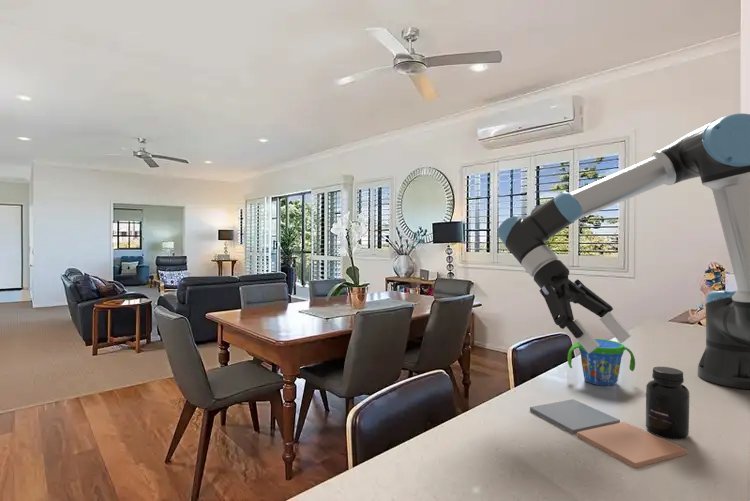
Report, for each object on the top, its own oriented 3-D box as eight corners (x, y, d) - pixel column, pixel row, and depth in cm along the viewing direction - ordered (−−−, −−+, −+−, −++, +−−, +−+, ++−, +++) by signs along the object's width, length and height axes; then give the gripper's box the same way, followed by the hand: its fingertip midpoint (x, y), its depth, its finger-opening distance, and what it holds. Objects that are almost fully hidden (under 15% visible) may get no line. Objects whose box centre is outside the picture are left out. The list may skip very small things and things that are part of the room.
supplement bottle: (649, 437, 80) (649, 373, 79) (642, 422, 86) (642, 363, 86) (694, 443, 77) (694, 377, 77) (683, 427, 83) (683, 366, 83)
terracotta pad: (624, 425, 84) (624, 421, 84) (686, 454, 73) (686, 449, 73) (577, 436, 80) (577, 432, 80) (635, 468, 69) (635, 463, 69)
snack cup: (629, 378, 113) (629, 339, 112) (641, 391, 103) (641, 349, 102) (565, 373, 117) (564, 336, 117) (570, 386, 107) (570, 346, 107)
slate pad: (573, 402, 97) (573, 399, 97) (619, 423, 85) (619, 419, 85) (530, 410, 93) (529, 407, 93) (573, 434, 81) (572, 429, 81)
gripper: (564, 276, 111) (625, 345, 99) (502, 283, 96) (565, 364, 84) (584, 256, 106) (650, 326, 95) (523, 260, 92) (592, 343, 80)
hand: (610, 344), depth 89 cm, fingers open, 13 cm apart
